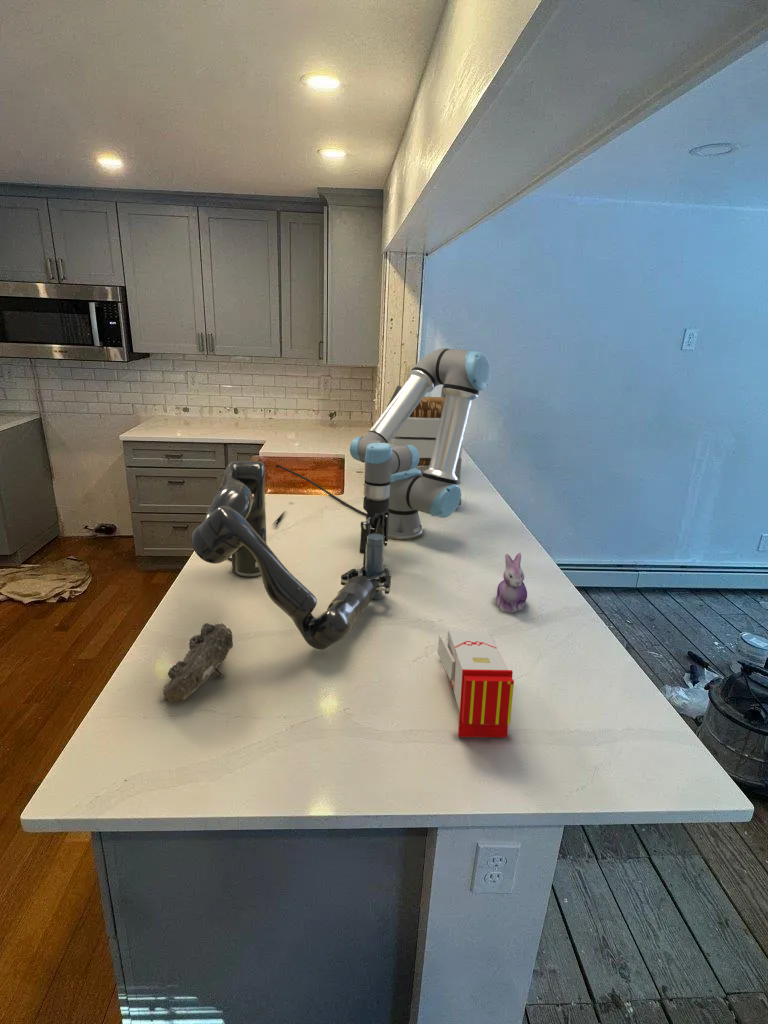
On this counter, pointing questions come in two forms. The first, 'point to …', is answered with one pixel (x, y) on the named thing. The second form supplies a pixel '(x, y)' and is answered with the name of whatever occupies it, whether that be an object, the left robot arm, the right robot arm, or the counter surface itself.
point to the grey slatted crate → (423, 429)
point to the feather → (278, 519)
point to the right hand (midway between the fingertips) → (372, 568)
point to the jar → (374, 558)
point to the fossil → (199, 661)
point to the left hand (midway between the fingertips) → (377, 569)
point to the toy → (478, 682)
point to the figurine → (512, 586)
